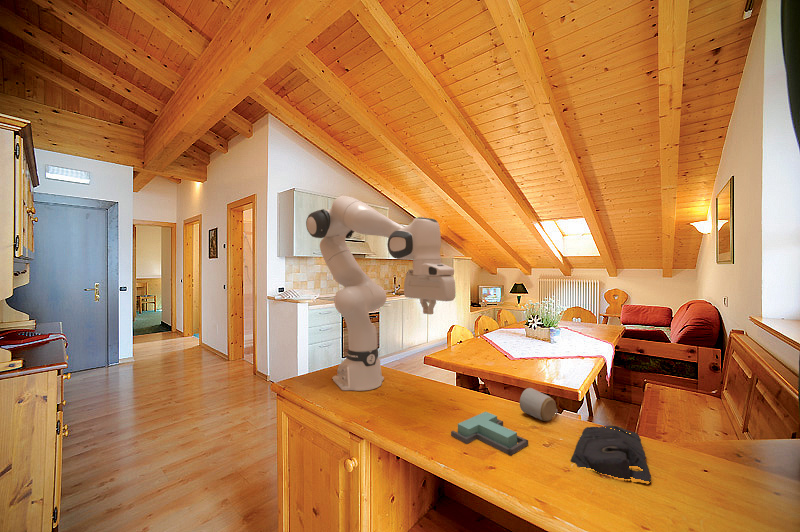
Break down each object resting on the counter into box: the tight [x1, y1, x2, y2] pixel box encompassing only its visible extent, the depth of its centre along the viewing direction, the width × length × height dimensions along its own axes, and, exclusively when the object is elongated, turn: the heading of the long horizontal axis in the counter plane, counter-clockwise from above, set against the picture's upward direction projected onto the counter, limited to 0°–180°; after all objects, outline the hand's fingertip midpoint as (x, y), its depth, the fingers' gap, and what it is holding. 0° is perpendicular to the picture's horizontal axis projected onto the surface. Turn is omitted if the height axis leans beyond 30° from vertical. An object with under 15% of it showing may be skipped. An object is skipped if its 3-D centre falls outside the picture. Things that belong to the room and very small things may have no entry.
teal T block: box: [457, 411, 518, 448], centre depth 91 cm, size 13×12×3 cm
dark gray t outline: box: [450, 418, 529, 457], centre depth 90 cm, size 16×16×1 cm
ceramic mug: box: [519, 387, 558, 422], centre depth 102 cm, size 11×8×8 cm
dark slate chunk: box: [570, 425, 652, 482], centre depth 82 cm, size 15×22×5 cm
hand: (428, 313), depth 105 cm, fingers closed
